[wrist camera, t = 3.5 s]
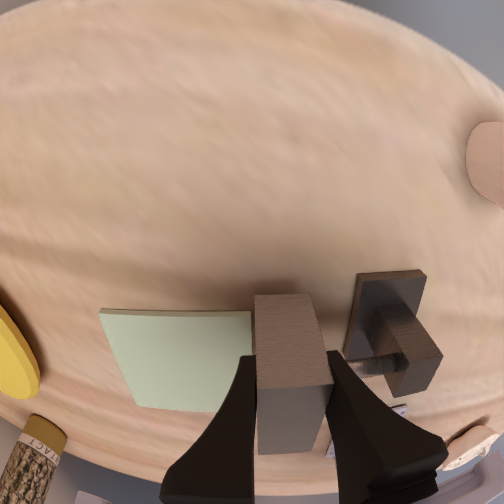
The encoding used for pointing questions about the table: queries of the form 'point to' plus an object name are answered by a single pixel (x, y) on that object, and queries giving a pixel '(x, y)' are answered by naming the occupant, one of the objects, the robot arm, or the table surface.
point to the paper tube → (32, 463)
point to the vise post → (391, 332)
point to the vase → (16, 362)
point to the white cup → (487, 160)
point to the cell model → (469, 446)
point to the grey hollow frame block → (289, 373)
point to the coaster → (178, 355)
